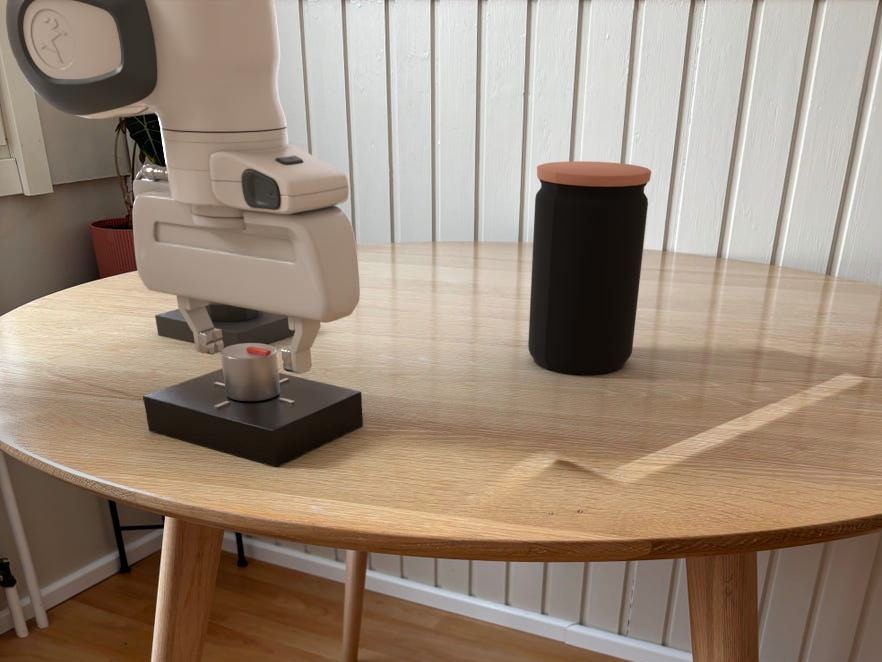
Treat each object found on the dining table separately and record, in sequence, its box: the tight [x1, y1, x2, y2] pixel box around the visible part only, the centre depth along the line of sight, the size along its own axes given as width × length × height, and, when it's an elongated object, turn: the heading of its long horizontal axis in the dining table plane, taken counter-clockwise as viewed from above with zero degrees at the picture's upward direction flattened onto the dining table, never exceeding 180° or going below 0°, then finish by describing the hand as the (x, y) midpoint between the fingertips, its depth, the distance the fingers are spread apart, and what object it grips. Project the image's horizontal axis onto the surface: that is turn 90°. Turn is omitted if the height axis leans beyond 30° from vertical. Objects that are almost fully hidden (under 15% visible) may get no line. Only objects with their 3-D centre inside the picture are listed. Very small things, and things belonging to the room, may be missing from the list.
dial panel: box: [142, 367, 364, 468], centre depth 78 cm, size 14×11×3 cm
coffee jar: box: [527, 160, 652, 376], centre depth 92 cm, size 11×11×18 cm
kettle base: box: [154, 301, 295, 349], centre depth 102 cm, size 12×10×4 cm
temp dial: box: [220, 343, 280, 401], centre depth 76 cm, size 4×4×4 cm
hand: (253, 361), depth 76 cm, fingers open, 8 cm apart
